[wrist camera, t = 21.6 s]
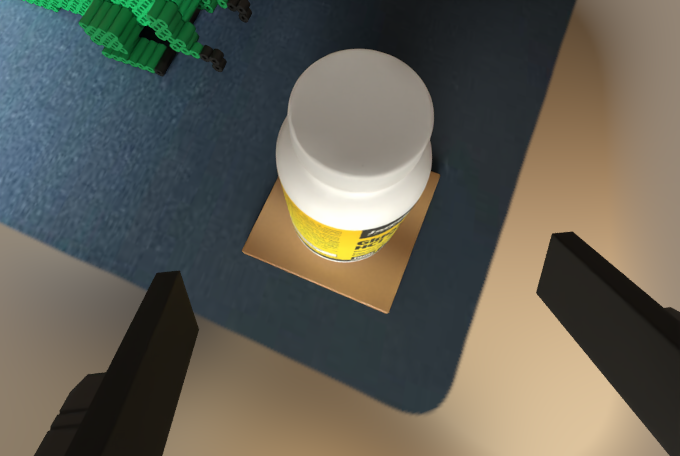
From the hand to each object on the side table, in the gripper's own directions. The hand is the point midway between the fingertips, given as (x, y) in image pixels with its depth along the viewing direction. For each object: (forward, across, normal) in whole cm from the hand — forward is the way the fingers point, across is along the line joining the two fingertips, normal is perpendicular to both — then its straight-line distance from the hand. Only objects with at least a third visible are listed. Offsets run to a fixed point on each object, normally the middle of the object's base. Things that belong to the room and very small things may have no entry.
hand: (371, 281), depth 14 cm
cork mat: (+10, 0, -2) cm, 10 cm away
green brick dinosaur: (+20, -13, +8) cm, 25 cm away
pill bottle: (+9, 0, -2) cm, 10 cm away
